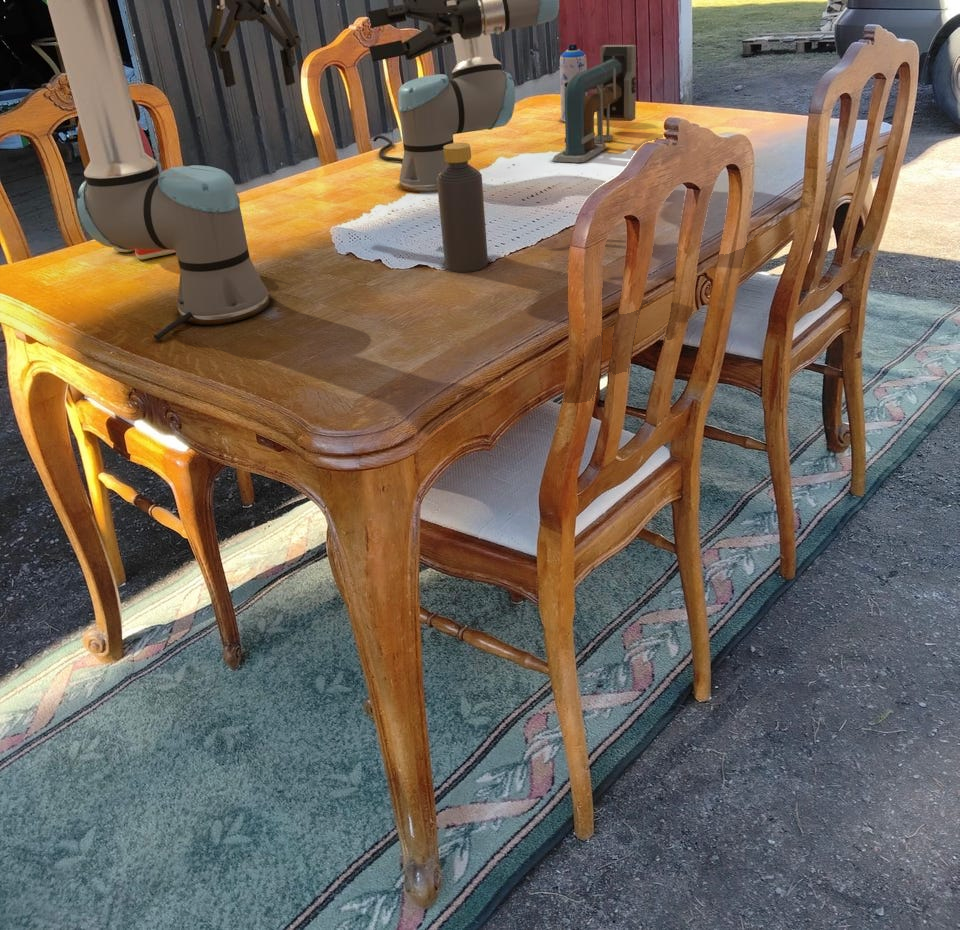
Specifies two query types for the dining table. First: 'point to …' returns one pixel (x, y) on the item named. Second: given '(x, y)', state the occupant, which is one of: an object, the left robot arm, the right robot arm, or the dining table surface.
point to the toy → (86, 159)
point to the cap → (457, 152)
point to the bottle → (462, 217)
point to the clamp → (599, 102)
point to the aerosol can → (570, 70)
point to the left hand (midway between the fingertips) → (260, 85)
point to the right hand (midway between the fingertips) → (370, 37)
